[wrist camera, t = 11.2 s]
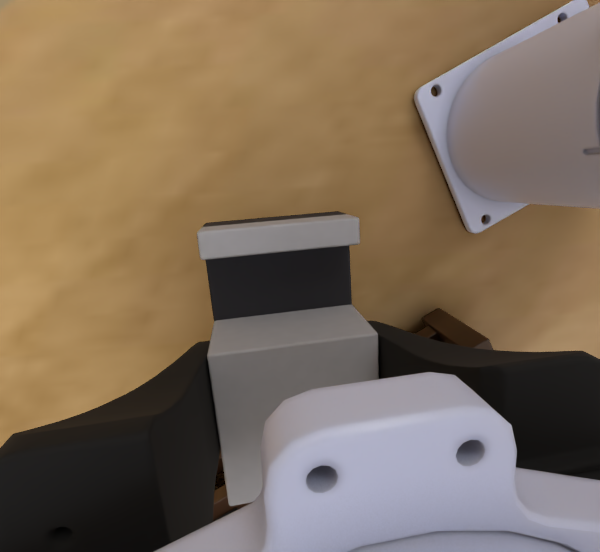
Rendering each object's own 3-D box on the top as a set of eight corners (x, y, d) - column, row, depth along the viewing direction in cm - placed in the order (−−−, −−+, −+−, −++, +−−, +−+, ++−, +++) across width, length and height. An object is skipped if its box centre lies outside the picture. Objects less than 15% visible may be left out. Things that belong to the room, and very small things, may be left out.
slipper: (204, 222, 13) (188, 239, 9) (339, 210, 13) (376, 222, 10) (232, 430, 15) (229, 513, 11) (348, 412, 15) (382, 485, 12)
